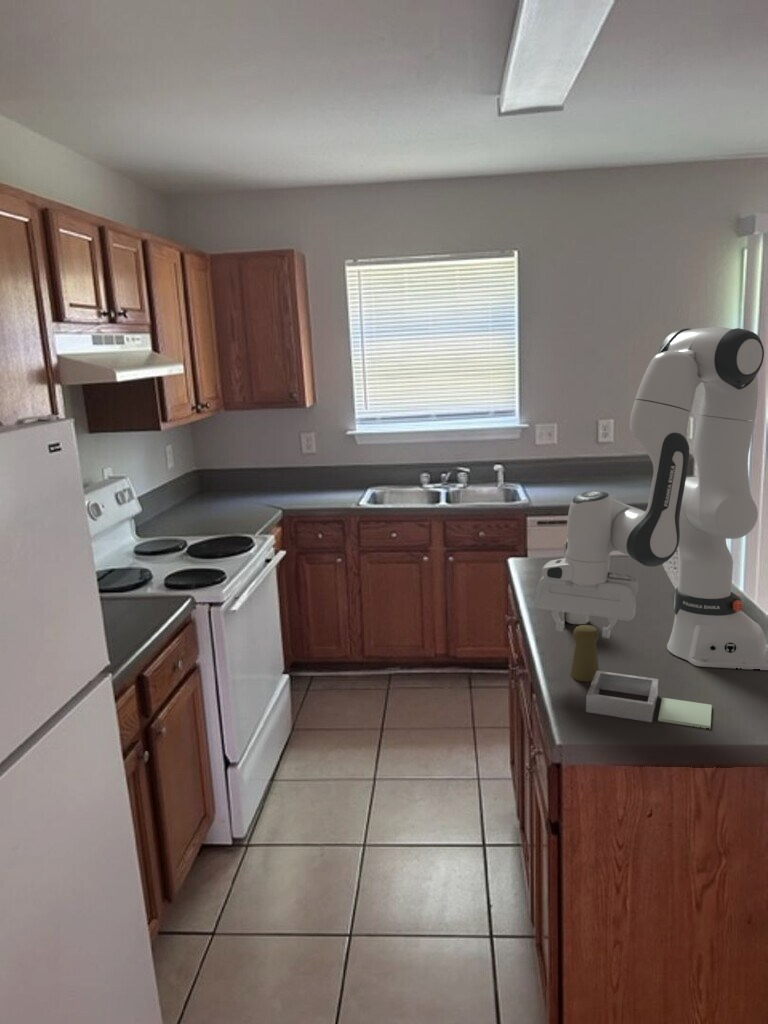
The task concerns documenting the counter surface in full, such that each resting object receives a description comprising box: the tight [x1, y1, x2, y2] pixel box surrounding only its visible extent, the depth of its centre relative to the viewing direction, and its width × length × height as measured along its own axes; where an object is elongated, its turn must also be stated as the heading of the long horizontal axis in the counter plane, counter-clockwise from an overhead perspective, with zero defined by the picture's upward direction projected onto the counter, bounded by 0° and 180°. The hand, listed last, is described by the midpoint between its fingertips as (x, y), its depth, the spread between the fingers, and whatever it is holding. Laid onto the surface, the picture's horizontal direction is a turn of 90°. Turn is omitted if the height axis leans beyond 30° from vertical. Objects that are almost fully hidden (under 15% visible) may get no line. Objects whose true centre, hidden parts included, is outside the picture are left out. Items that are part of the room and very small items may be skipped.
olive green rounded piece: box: [569, 624, 600, 683], centre depth 162 cm, size 6×6×11 cm
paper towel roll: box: [562, 539, 590, 626], centre depth 193 cm, size 7×6×21 cm
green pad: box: [657, 697, 713, 730], centre depth 145 cm, size 9×9×1 cm
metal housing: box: [585, 670, 659, 723], centre depth 150 cm, size 12×12×4 cm
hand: (582, 633), depth 161 cm, fingers open, 8 cm apart
